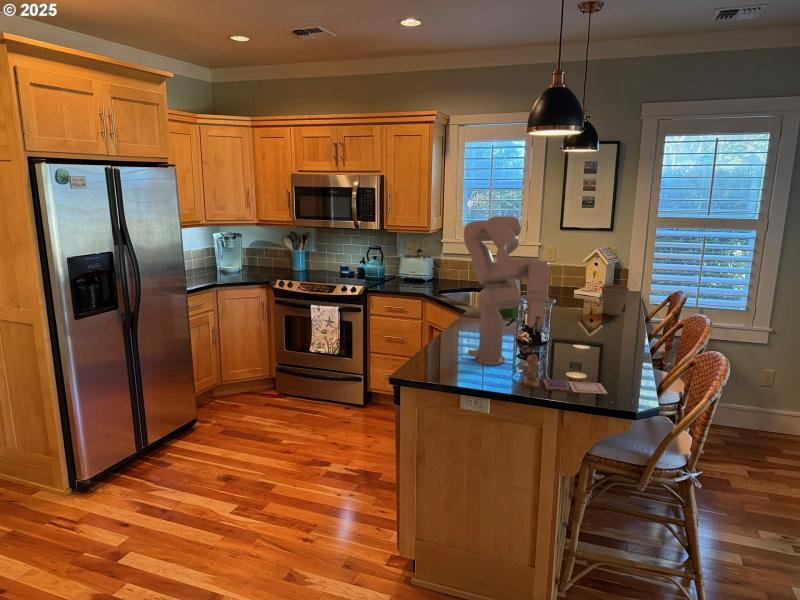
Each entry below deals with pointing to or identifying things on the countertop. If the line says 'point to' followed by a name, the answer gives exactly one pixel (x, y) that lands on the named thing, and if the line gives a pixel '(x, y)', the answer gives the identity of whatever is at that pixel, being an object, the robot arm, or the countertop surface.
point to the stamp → (531, 372)
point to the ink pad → (556, 384)
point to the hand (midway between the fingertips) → (534, 341)
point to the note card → (587, 387)
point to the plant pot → (614, 298)
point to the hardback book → (507, 312)
